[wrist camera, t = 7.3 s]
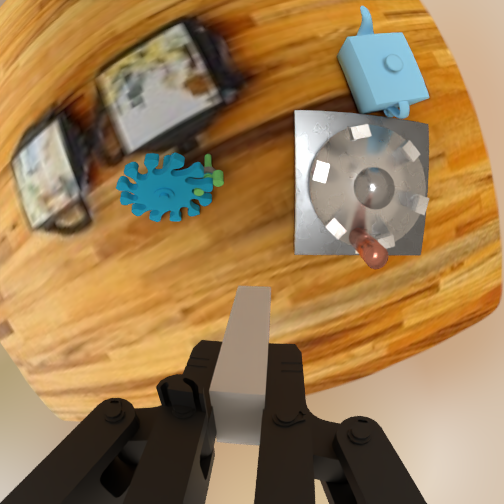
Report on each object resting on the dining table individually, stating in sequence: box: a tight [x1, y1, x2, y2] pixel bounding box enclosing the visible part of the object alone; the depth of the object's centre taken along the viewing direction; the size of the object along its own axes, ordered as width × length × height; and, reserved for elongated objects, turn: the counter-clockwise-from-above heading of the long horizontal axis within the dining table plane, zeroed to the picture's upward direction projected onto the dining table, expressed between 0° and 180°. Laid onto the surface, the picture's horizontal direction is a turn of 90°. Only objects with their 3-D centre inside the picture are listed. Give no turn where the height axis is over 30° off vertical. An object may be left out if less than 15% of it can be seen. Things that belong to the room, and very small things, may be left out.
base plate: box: [293, 110, 429, 255], centre depth 28 cm, size 15×15×2 cm
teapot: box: [337, 6, 429, 119], centre depth 21 cm, size 12×6×8 cm, turn 18°
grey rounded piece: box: [309, 124, 429, 269], centre depth 23 cm, size 12×12×8 cm
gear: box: [116, 153, 224, 222], centre depth 28 cm, size 11×6×10 cm
